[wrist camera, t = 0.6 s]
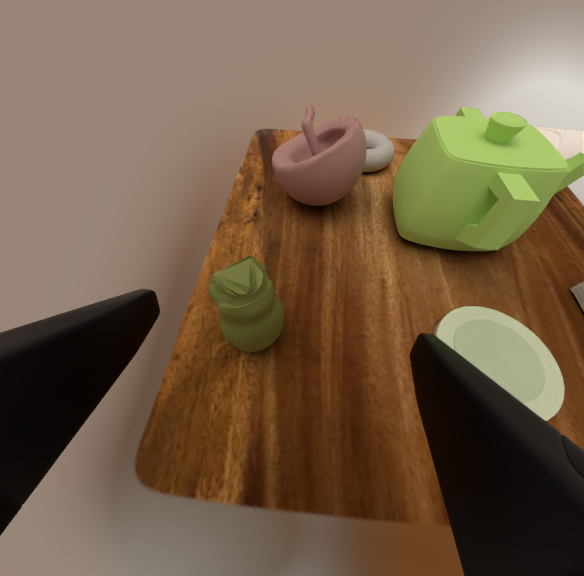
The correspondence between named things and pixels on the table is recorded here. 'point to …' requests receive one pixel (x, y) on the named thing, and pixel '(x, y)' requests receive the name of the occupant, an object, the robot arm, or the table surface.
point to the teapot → (477, 181)
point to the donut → (377, 151)
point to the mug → (564, 140)
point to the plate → (506, 355)
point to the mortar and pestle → (321, 160)
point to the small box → (579, 293)
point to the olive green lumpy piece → (247, 305)
